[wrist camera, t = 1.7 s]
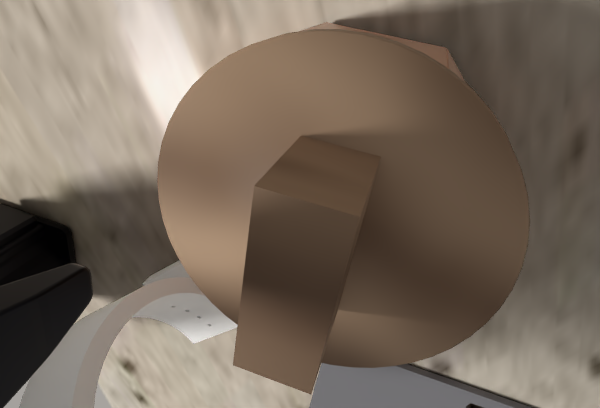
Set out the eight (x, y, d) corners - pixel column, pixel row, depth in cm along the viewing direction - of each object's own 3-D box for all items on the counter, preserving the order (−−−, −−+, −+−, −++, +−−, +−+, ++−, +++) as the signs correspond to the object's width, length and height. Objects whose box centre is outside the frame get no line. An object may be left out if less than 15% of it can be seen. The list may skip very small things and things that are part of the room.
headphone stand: (199, 334, 27) (51, 548, 17) (139, 262, 25) (-64, 448, 15) (251, 314, 25) (117, 548, 14) (188, 234, 23) (-10, 430, 13)
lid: (445, 392, 16) (446, 514, 12) (169, 294, 18) (100, 373, 15) (609, 84, 10) (706, 142, 6) (170, -10, 12) (50, -6, 9)
